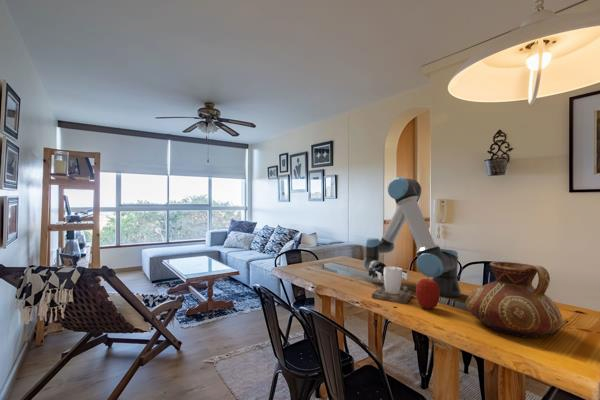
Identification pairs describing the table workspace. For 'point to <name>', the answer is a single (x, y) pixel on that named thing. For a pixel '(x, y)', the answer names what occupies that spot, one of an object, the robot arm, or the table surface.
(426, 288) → the apple
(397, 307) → the table surface
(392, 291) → the cup
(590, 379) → the table surface
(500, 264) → the jug
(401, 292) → the peg stand
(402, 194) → the robot arm
